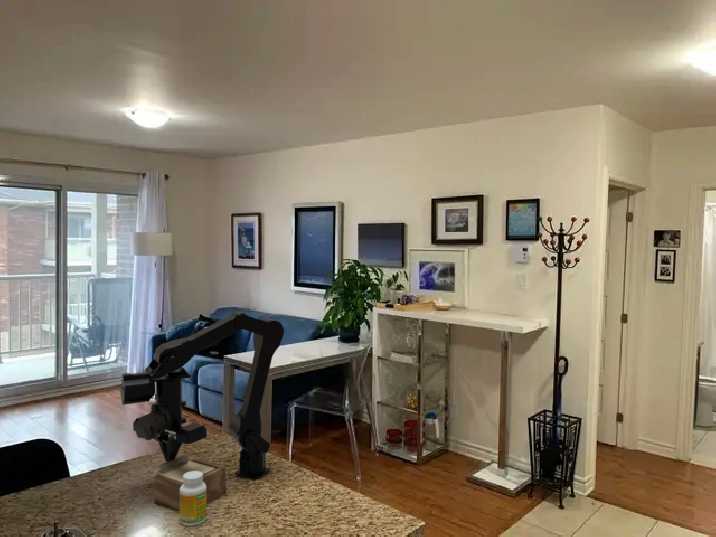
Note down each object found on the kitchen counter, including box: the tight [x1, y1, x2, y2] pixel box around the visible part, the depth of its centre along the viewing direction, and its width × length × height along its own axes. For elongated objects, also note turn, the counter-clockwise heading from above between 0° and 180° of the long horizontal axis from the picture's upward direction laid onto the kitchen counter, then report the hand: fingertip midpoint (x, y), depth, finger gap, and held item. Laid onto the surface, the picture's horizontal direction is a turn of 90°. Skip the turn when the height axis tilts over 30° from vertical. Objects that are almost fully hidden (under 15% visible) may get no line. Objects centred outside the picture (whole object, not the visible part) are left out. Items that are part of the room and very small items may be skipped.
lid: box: [156, 454, 215, 482], centre depth 127 cm, size 9×9×2 cm
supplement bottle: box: [179, 471, 207, 527], centre depth 116 cm, size 5×5×10 cm
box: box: [153, 458, 227, 513], centre depth 126 cm, size 12×10×6 cm
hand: (169, 464), depth 129 cm, fingers closed
